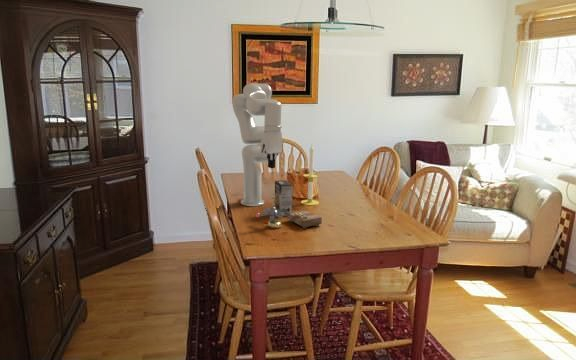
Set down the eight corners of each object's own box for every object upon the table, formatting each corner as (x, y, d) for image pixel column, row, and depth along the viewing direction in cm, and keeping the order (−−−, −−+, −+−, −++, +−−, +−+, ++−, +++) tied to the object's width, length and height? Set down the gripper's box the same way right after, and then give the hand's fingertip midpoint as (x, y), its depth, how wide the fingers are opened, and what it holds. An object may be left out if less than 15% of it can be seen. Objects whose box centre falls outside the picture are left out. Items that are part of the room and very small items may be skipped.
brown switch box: (287, 220, 220) (287, 209, 219) (304, 217, 225) (304, 206, 224) (303, 229, 209) (304, 217, 207) (321, 226, 214) (321, 214, 213)
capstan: (264, 234, 200) (264, 214, 198) (247, 224, 212) (247, 205, 210) (295, 228, 209) (295, 209, 207) (277, 219, 221) (277, 200, 219)
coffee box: (273, 211, 235) (274, 180, 231) (285, 210, 237) (286, 179, 233) (279, 216, 226) (280, 184, 222) (292, 215, 228) (293, 184, 225)
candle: (309, 206, 244) (311, 146, 236) (297, 202, 252) (298, 143, 244) (322, 203, 250) (325, 144, 243) (310, 199, 258) (312, 141, 250)
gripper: (278, 126, 218) (277, 163, 223) (254, 129, 208) (253, 168, 213) (289, 128, 213) (288, 166, 218) (265, 131, 203) (264, 171, 207)
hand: (271, 167), depth 215 cm, fingers closed
